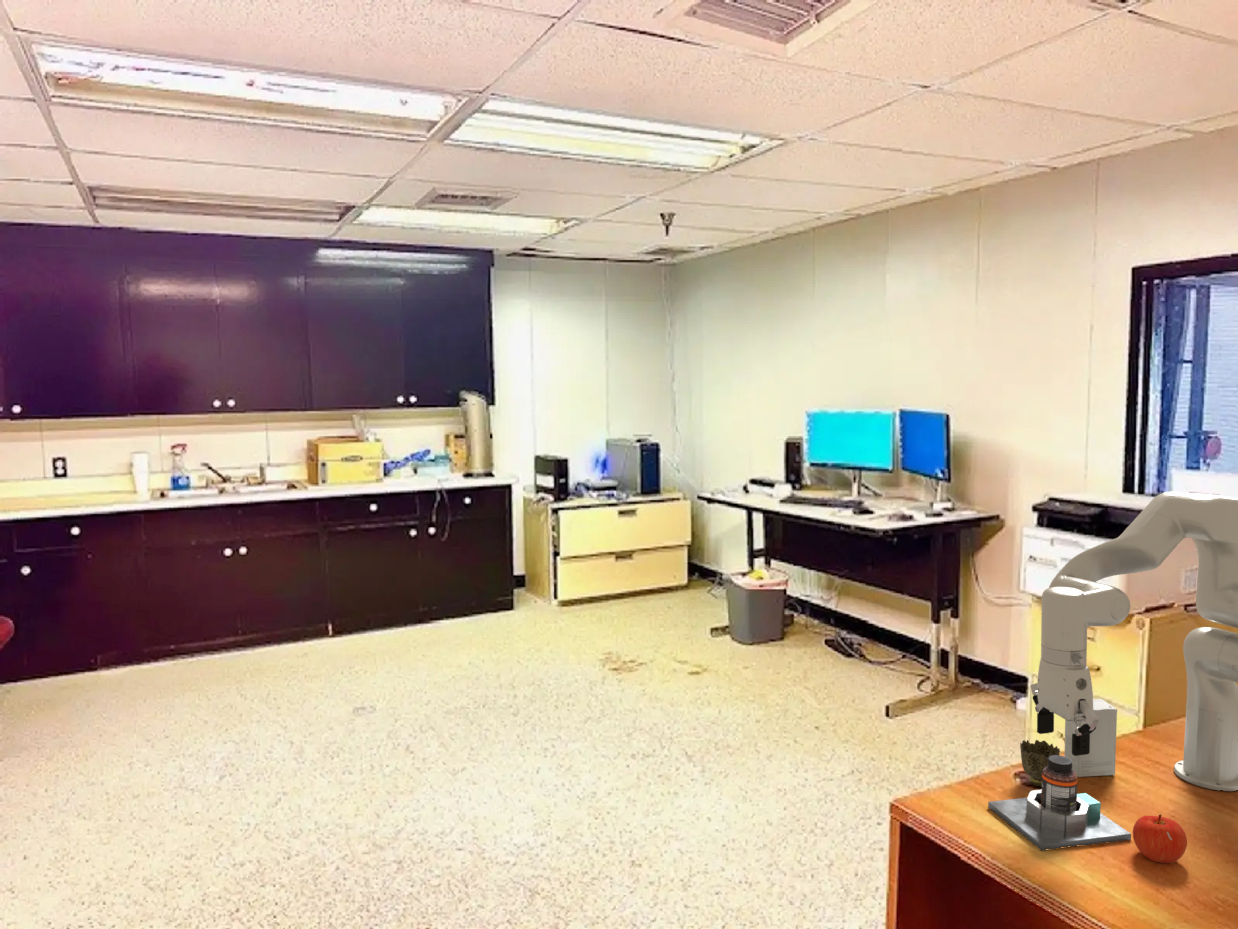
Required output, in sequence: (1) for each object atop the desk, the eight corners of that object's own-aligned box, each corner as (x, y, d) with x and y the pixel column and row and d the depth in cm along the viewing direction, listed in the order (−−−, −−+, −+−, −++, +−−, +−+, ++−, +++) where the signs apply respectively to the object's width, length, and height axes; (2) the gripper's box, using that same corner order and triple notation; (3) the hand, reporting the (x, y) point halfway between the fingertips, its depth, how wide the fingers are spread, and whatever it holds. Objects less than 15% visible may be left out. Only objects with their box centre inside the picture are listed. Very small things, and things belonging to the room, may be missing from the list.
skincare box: (1099, 764, 189) (1102, 697, 187) (1116, 777, 183) (1119, 708, 181) (1061, 765, 189) (1064, 698, 187) (1077, 778, 183) (1080, 709, 181)
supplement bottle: (1044, 806, 169) (1046, 749, 167) (1078, 815, 165) (1081, 757, 164) (1037, 819, 164) (1039, 760, 163) (1072, 828, 160) (1075, 769, 159)
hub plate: (1070, 798, 174) (1071, 778, 174) (1130, 840, 158) (1131, 818, 158) (988, 807, 171) (988, 787, 170) (1041, 851, 155) (1042, 828, 155)
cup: (1050, 776, 184) (1051, 739, 183) (1064, 792, 176) (1066, 754, 176) (1013, 775, 184) (1014, 738, 184) (1026, 791, 177) (1027, 753, 176)
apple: (1194, 872, 148) (1197, 827, 147) (1142, 868, 149) (1145, 824, 148) (1173, 847, 156) (1175, 804, 155) (1124, 844, 157) (1126, 801, 156)
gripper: (1116, 668, 154) (1114, 761, 155) (1050, 638, 170) (1049, 723, 172) (1077, 672, 152) (1076, 766, 154) (1016, 642, 169) (1015, 727, 171)
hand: (1062, 743), depth 163 cm, fingers open, 9 cm apart
